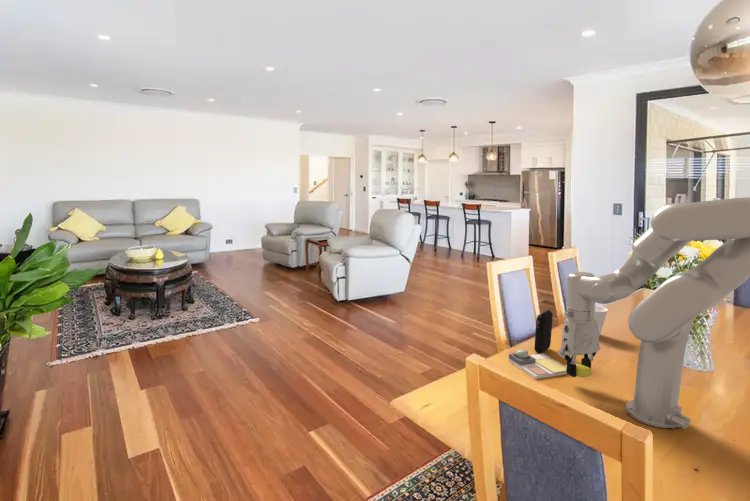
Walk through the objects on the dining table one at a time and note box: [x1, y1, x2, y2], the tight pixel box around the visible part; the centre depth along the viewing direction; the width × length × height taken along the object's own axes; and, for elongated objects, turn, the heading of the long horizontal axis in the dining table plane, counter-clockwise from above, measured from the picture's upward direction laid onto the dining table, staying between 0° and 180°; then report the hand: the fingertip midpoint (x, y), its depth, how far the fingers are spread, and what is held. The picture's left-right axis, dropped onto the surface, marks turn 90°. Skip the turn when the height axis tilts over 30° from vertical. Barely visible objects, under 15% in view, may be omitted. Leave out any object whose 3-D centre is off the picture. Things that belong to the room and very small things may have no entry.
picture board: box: [508, 352, 568, 380], centre depth 141 cm, size 14×14×2 cm
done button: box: [516, 348, 529, 359], centre depth 143 cm, size 4×4×2 cm
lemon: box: [564, 362, 593, 378], centre depth 128 cm, size 4×8×4 cm, turn 33°
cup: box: [595, 304, 609, 337], centre depth 170 cm, size 10×10×11 cm
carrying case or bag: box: [533, 309, 554, 354], centre depth 152 cm, size 11×3×15 cm, turn 137°
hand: (578, 373), depth 128 cm, fingers closed on lemon, 4 cm apart
